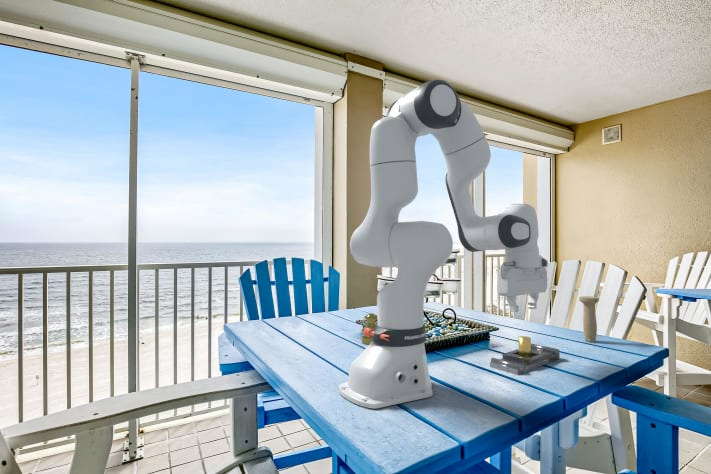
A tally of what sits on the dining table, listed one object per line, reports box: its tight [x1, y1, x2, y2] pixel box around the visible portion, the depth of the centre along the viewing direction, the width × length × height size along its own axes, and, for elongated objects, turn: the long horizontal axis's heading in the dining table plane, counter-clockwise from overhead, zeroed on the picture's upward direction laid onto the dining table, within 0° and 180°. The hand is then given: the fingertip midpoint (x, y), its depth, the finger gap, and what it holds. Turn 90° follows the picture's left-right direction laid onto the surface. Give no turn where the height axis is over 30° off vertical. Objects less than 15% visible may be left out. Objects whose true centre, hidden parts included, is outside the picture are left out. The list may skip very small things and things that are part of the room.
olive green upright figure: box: [360, 312, 377, 345], centre depth 127 cm, size 7×7×10 cm
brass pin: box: [517, 335, 532, 358], centre depth 102 cm, size 3×3×7 cm
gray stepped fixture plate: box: [489, 357, 549, 376], centre depth 100 cm, size 16×9×2 cm, turn 125°
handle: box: [578, 295, 600, 343], centre depth 124 cm, size 5×6×15 cm
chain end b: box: [502, 343, 561, 365], centre depth 103 cm, size 16×9×3 cm, turn 125°
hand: (523, 310), depth 102 cm, fingers open, 8 cm apart
